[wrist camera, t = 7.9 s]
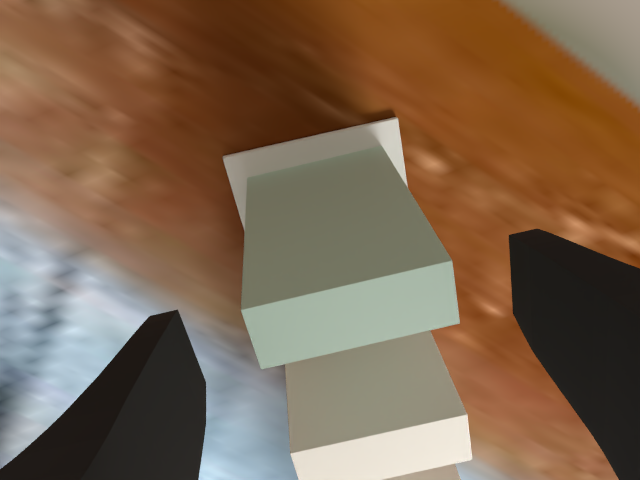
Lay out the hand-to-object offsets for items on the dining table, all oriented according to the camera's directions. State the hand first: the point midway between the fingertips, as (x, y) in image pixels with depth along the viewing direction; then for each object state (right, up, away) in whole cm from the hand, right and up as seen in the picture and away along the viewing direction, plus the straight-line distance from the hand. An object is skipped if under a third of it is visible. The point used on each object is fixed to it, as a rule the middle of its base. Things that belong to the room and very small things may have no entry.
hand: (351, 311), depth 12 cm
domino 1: (-1, +3, +6) cm, 7 cm away
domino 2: (0, 0, +9) cm, 9 cm away
